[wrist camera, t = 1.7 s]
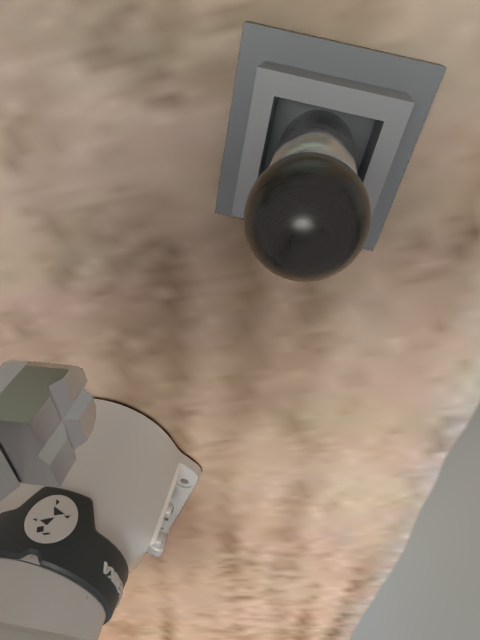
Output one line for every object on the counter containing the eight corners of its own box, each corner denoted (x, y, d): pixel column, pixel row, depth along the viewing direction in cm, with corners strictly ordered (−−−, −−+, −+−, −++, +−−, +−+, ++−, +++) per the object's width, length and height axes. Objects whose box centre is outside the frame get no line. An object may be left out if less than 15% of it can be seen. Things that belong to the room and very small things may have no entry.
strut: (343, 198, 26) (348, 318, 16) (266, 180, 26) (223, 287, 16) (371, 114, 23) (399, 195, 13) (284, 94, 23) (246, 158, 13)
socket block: (371, 242, 28) (376, 274, 25) (218, 205, 28) (203, 232, 25) (441, 64, 22) (460, 74, 19) (247, 21, 23) (232, 23, 19)
